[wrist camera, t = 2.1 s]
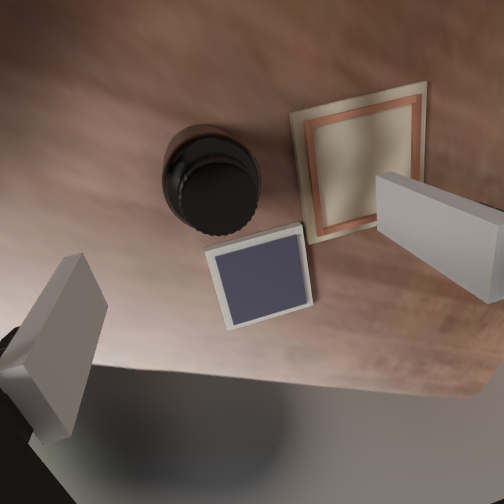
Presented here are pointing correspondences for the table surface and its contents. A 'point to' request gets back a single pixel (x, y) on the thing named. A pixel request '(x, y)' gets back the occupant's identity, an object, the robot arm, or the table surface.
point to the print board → (355, 155)
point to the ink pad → (261, 275)
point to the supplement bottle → (210, 180)
